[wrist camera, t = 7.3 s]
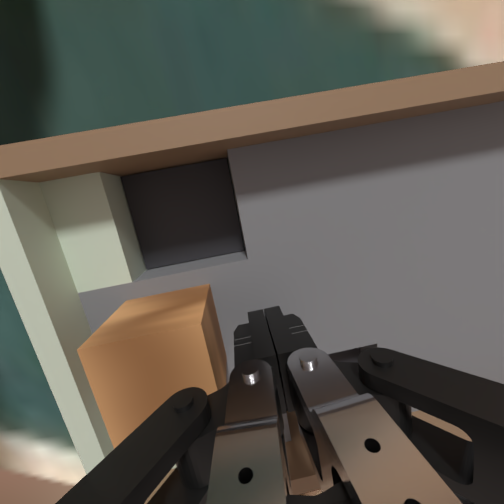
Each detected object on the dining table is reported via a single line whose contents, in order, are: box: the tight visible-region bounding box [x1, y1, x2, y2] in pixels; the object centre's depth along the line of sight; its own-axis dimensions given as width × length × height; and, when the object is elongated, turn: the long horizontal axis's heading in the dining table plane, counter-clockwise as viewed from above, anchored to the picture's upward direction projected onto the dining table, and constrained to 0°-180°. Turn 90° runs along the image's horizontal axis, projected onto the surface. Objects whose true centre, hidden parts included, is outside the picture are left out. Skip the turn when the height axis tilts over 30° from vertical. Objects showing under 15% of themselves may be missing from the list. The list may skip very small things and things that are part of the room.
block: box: [77, 284, 227, 449], centre depth 11 cm, size 4×4×4 cm
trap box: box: [0, 61, 504, 504], centre depth 13 cm, size 26×18×4 cm
